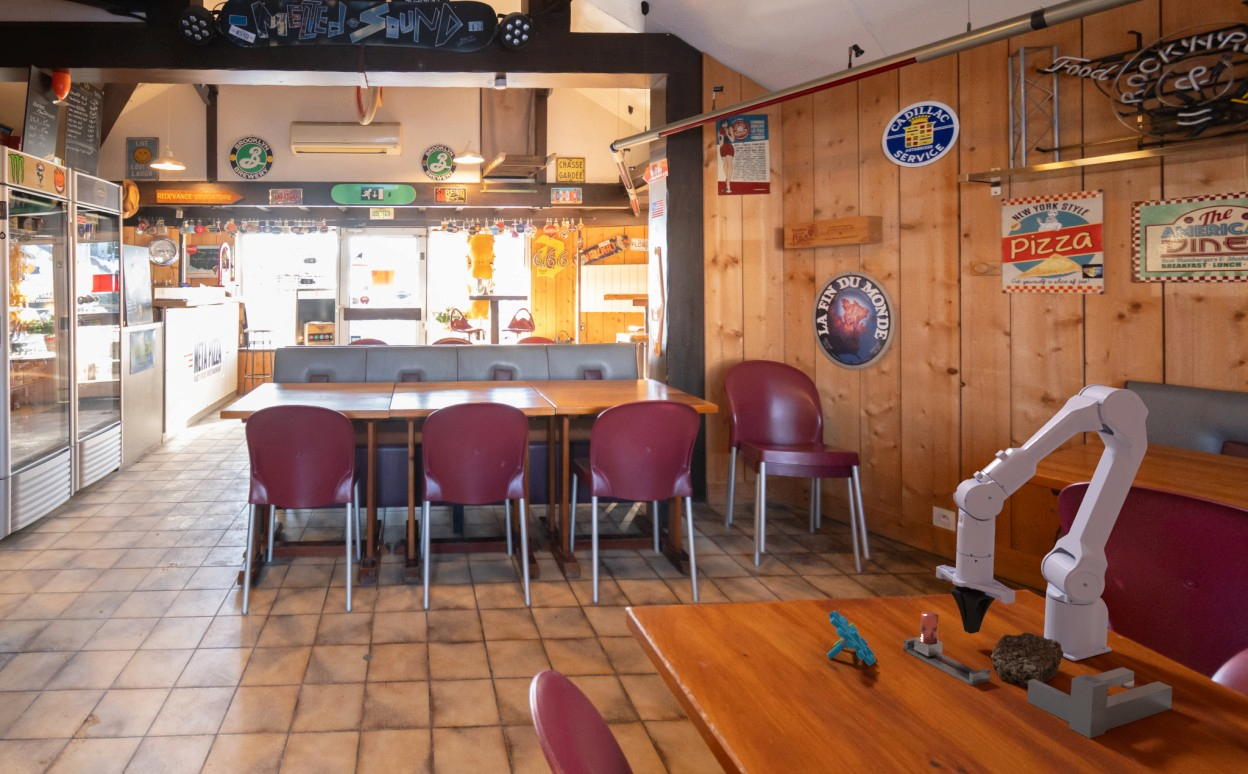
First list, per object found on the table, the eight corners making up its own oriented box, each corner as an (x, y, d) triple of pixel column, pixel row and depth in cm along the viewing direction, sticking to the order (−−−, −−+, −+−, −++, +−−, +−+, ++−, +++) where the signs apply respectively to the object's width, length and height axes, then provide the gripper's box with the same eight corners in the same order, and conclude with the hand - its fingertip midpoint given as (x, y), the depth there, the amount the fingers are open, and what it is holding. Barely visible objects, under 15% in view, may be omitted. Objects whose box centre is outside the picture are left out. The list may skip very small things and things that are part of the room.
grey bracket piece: (1103, 679, 125) (1106, 635, 124) (1174, 710, 115) (1177, 662, 114) (1021, 703, 117) (1023, 656, 116) (1089, 738, 108) (1093, 687, 107)
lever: (928, 646, 135) (929, 609, 134) (942, 653, 132) (943, 616, 131) (914, 649, 133) (915, 612, 133) (928, 656, 131) (929, 618, 130)
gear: (878, 667, 125) (832, 615, 128) (848, 691, 126) (803, 638, 129) (880, 649, 135) (838, 601, 138) (853, 671, 137) (812, 622, 139)
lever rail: (920, 646, 137) (920, 636, 136) (989, 681, 124) (990, 669, 124) (903, 650, 135) (904, 639, 135) (972, 685, 123) (972, 674, 122)
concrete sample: (1014, 653, 135) (1015, 623, 134) (1076, 676, 126) (1077, 644, 126) (971, 669, 128) (973, 638, 128) (1033, 695, 120) (1035, 662, 120)
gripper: (924, 543, 141) (921, 620, 142) (994, 568, 128) (990, 652, 129) (954, 539, 144) (951, 613, 145) (1025, 562, 130) (1021, 644, 132)
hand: (971, 631), depth 137 cm, fingers closed
